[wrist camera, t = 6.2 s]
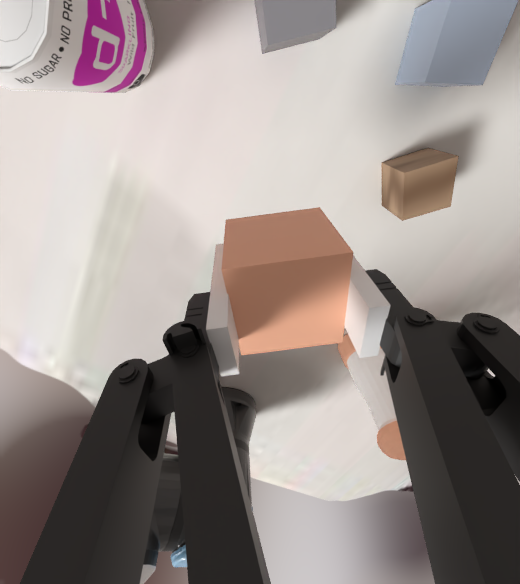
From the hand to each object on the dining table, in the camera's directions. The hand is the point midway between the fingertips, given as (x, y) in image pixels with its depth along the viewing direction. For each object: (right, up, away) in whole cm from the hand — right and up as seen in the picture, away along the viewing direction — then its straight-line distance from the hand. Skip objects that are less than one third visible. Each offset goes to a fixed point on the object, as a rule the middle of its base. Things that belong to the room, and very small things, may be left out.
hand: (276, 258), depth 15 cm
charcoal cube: (+1, +21, +6) cm, 22 cm away
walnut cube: (+16, +11, +15) cm, 25 cm away
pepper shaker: (+17, -11, +32) cm, 38 cm away
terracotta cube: (0, 0, 0) cm, 0 cm away
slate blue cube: (+15, +20, +9) cm, 26 cm away
